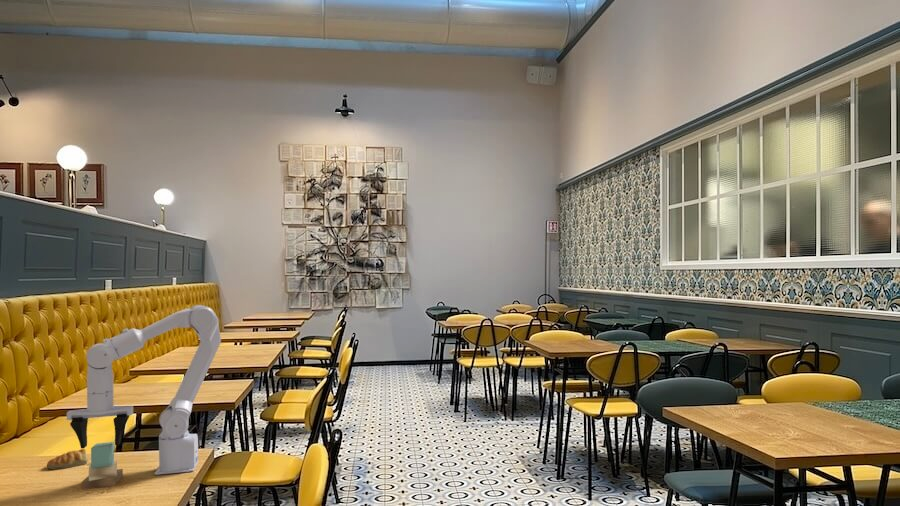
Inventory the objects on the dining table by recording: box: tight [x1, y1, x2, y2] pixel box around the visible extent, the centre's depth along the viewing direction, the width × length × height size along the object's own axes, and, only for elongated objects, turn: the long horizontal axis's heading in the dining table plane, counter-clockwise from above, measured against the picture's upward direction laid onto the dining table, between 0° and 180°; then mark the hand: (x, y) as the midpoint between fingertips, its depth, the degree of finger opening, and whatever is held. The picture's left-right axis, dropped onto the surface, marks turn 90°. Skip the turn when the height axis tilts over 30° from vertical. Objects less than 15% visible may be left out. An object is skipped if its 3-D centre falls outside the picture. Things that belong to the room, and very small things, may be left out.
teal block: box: [90, 441, 115, 468], centre depth 146 cm, size 4×4×5 cm
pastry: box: [46, 448, 88, 470], centre depth 159 cm, size 9×7×4 cm
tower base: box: [81, 468, 124, 490], centre depth 146 cm, size 7×7×2 cm
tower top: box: [88, 459, 118, 481], centre depth 146 cm, size 6×6×2 cm
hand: (101, 445), depth 146 cm, fingers open, 7 cm apart
